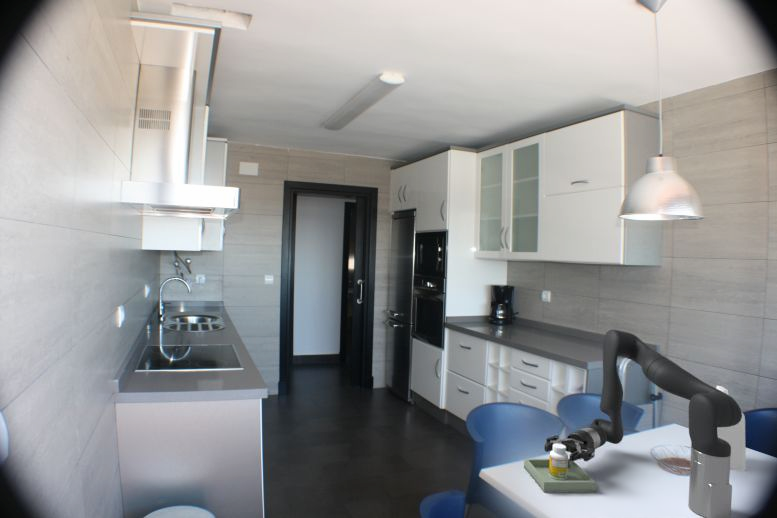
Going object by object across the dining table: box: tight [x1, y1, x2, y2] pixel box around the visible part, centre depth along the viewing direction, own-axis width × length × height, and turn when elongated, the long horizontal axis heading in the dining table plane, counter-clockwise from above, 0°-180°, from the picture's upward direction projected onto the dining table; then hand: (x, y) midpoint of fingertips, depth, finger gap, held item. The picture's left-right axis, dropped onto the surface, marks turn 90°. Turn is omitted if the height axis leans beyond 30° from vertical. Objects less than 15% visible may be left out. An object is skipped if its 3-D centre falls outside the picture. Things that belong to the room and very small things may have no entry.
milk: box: [715, 385, 747, 472], centre depth 168 cm, size 12×12×26 cm
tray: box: [523, 458, 597, 493], centre depth 150 cm, size 16×16×3 cm
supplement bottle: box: [549, 443, 569, 480], centre depth 150 cm, size 5×5×10 cm
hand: (558, 453), depth 149 cm, fingers open, 8 cm apart
